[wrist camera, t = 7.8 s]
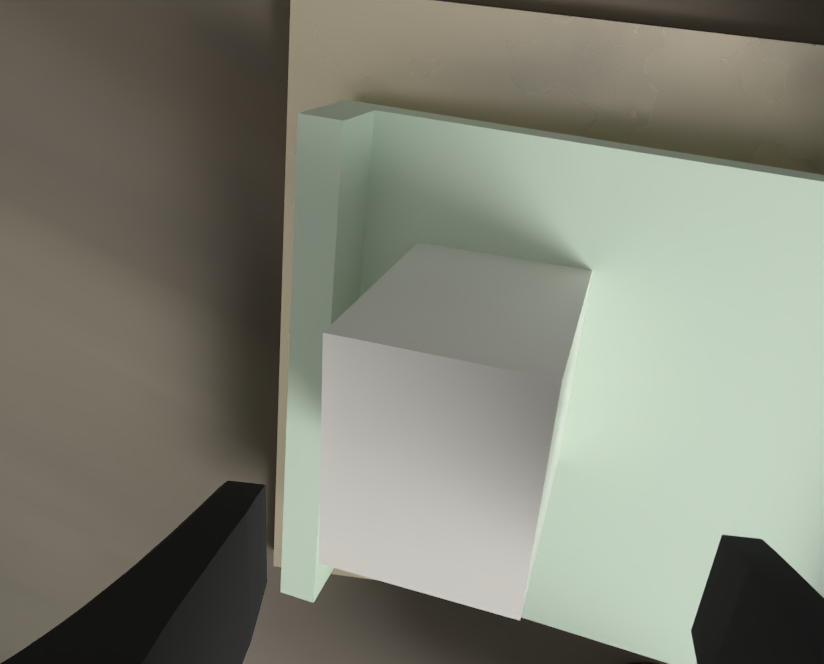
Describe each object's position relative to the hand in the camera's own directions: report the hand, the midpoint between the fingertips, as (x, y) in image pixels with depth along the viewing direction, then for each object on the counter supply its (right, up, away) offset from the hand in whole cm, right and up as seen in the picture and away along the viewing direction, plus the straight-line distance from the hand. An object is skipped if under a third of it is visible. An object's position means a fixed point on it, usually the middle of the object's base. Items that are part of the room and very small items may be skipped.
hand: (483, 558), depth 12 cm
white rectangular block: (+1, +3, +6) cm, 7 cm away
